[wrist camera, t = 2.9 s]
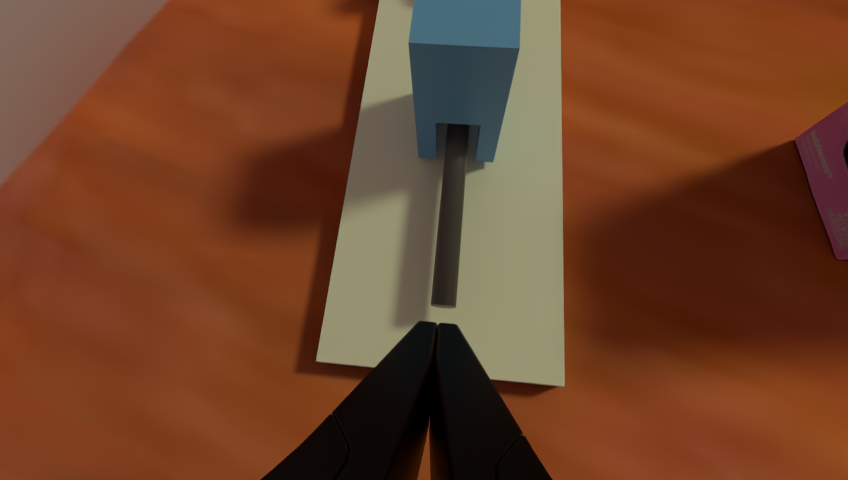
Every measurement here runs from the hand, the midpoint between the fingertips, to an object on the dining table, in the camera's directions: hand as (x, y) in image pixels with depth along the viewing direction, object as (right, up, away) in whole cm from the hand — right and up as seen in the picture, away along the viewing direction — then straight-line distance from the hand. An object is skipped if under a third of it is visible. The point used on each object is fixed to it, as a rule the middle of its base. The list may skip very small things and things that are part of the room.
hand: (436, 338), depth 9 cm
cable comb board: (+2, +9, +17) cm, 20 cm away
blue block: (+2, +9, +16) cm, 18 cm away
